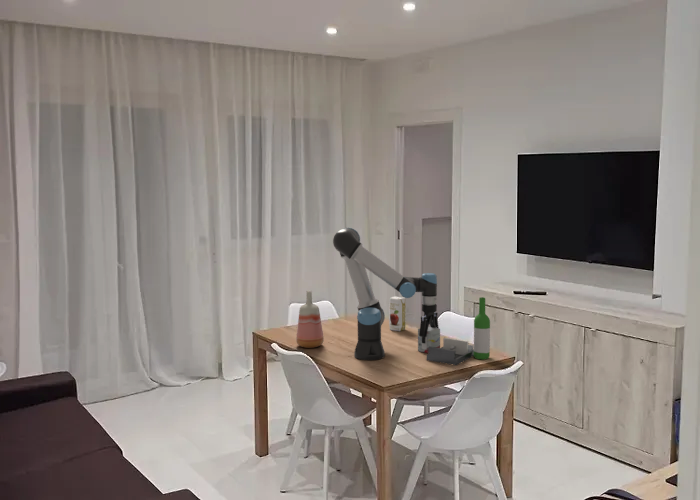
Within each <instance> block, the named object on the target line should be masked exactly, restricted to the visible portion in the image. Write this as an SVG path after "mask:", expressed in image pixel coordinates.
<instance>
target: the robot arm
mask: <svg viewBox="0 0 700 500" xmlns="http://www.w3.org/2000/svg"><path fill="white" fill-rule="evenodd" d="M332 244H333V247H334V249H335V250H336V251H338V252H339V254H340V258H341V259H344V261H345V264H346V267H347V271H348V274H349V277H350V281H351V282H352V285H353V288H354V292H355V295H356V298H357V300H358V305H357V307H356V308H357V310H358V311H357V316H356V319H357V343H356V345H355V349H354V352H353V353H354V358H355V359H359V360H364V361H376V360H381V359H384V358H385V355H386V354H385V352H386V351H385V349H384V346H383V343H382V325H383V324H384V321H385V319H386V317H385V312H384V309H383V308H382V306H381V303H380V301H379V300H378V299H377V298H376V297H375V294H374V291H373V288H372V285H371V282H370V279H369V275H368V273H367V270H368V271H370V272H371V273H372V274H373V275H375V276H376V277H378V278H379V279H380V280H382V281H383V282H385V283H386V284H387V285H388V286H391V287H392V288H393V289H394V290H396V291H397V292H399V294H400V295H401V297H405V299H410V298H412V297H414V295H416V293H421V311H422V312H423V315H422V316H420V325H419V329H420V333H419V336H421V337H422V349H425V350H427V337H426V335H427V331H428V327H434V328H439V321H438V312H437V311H438V309H437V307H438V306H437V302H438V296H437V294H438V278H437V277H438V276H437V275H436V273H431V272H426V273H425V272H424V273H422V274H421V277H411V276H409V277H408V276H404V275H402V274H401V273H400V272H398V271H397V270H396V269H394V268H393V267H391V266H390V265H389V264H387V263H386V262H385V261H383V260H382V259H380V258H379V257H377V256H376V255H374V254H373V253H372V252H370V251H369V250H368V249H366V248H365V247H363V243H361V236H360V234H359V232H358V231H357V230H356V229H354V228H352V227H344V228H341V229H340V230H338V231H337V232H336V233H335V234H334V235H333V238H332ZM366 269H367V270H366ZM439 329H440V328H439Z"/></svg>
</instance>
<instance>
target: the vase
mask: <svg viewBox="0 0 700 500" xmlns="http://www.w3.org/2000/svg"><path fill="white" fill-rule="evenodd" d="M312 293H313V291H312V290H306V303H305V304H303V305H301V306H300V307H299V311H298V321H297V328H296V338H295V339H296V344H297V345H298V346H299V347H302V348H305V349H313V348H317V347H320V346H322V345H323V344H324V341H325V338H324V337H325V335H324V330H323V325H322V318H321V313H320V307H319V306H318V305H316V304H314V303H313V296H312V295H313V294H312Z"/></svg>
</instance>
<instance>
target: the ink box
mask: <svg viewBox="0 0 700 500" xmlns="http://www.w3.org/2000/svg"><path fill="white" fill-rule="evenodd" d="M419 333H420V328H417V352H419V353H420V352H421V353H426V354H428V347H429V346H430V347H436V348H441V328H434V327H431V326H429V327H428V331H427V335H426V337H427V350H425V349H422V337H421V336H419Z"/></svg>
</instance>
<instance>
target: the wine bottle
mask: <svg viewBox="0 0 700 500" xmlns="http://www.w3.org/2000/svg"><path fill="white" fill-rule="evenodd" d="M478 302H479V303H478V307H479V308H478V314H477V315H476V316H475V317H474V319H473V349H474V356H473V358H474V359H475V360H476V359H477V360H480V359H481V360H483V361H484V359H485V360H488V359H489V358H490V353H491V352H490V350H491V349H490V348H491V345H490V344H491V342H490V341H491V339H490V338H491V321H490V318H489V316H488V315H487V314H486V297H484V296H483V297H479V300H478Z"/></svg>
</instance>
